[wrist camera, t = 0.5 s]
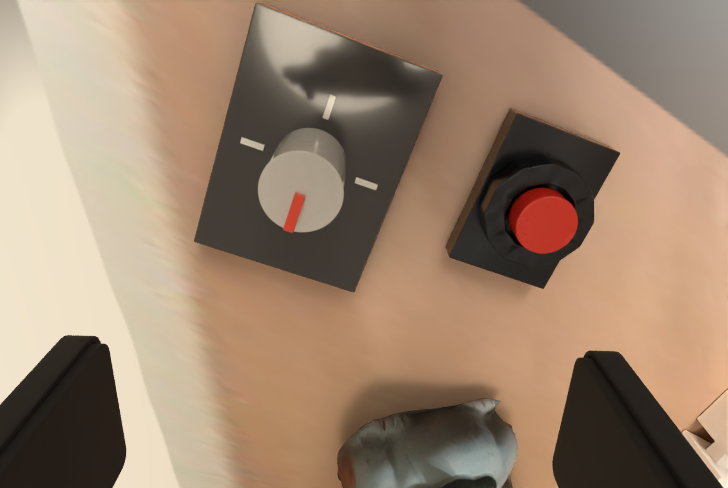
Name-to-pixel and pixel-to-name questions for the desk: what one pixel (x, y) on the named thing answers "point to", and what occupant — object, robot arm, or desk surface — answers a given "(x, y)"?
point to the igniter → (518, 175)
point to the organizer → (724, 425)
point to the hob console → (321, 111)
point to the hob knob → (304, 181)
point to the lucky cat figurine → (432, 450)
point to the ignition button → (543, 220)
